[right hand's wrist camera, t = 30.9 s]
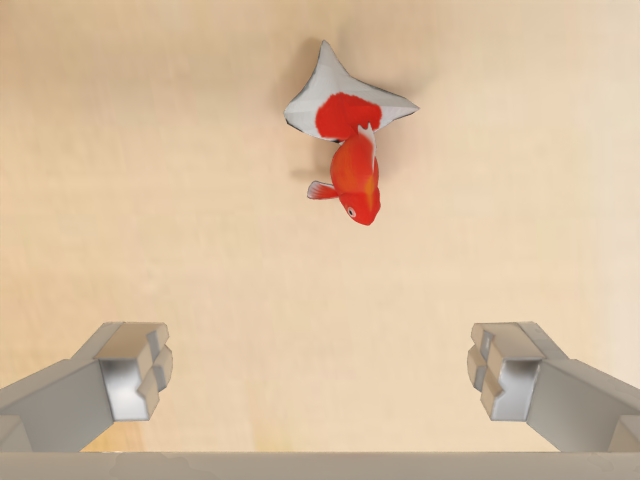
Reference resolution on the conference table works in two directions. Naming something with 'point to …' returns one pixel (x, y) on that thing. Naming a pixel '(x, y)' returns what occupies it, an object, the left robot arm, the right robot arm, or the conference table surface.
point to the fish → (346, 131)
